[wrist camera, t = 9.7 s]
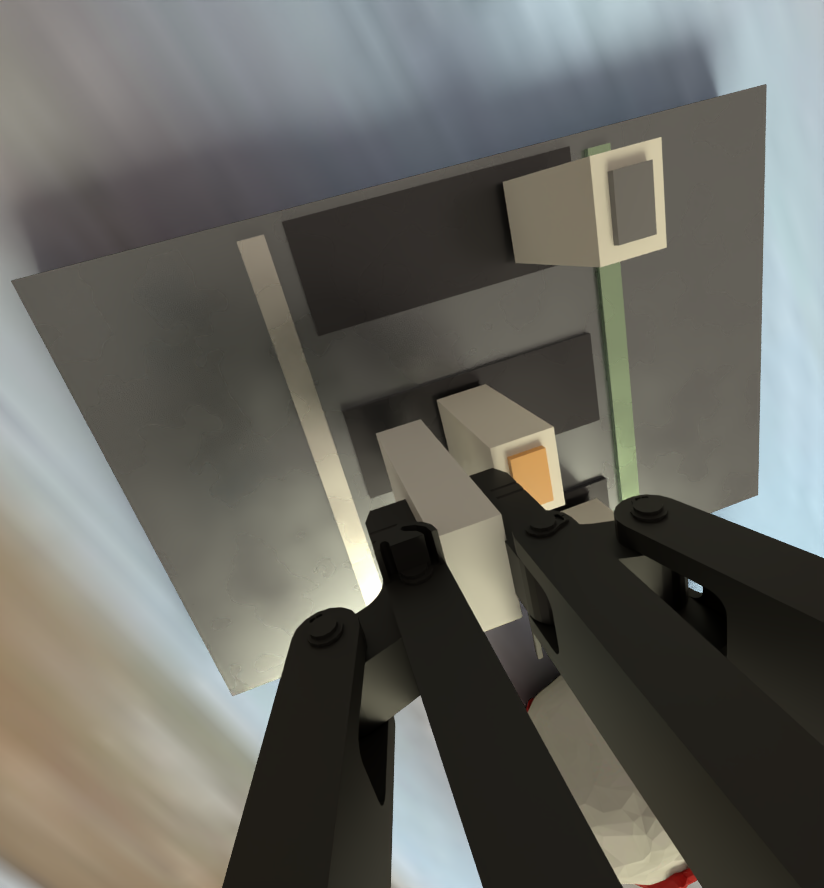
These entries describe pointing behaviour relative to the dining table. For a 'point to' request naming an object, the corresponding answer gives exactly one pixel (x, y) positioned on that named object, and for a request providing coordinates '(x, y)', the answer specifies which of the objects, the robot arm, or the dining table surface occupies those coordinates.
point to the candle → (606, 793)
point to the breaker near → (590, 209)
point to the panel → (409, 364)
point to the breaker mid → (503, 441)
